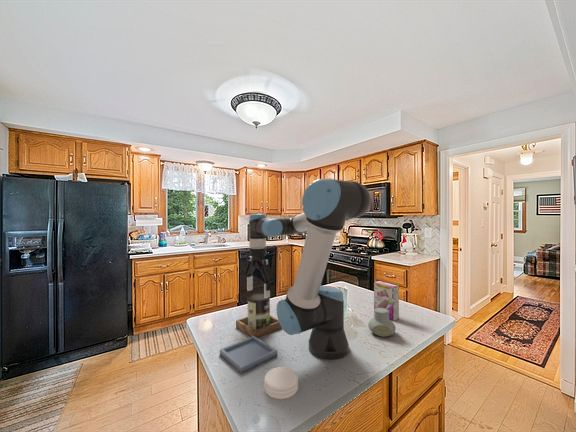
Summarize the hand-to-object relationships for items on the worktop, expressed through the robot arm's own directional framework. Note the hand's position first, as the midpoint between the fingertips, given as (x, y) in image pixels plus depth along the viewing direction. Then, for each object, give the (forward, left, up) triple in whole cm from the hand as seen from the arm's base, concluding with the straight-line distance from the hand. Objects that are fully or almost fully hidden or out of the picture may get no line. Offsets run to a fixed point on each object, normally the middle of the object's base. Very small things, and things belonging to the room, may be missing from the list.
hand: (258, 293), depth 113 cm
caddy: (0, 0, -15) cm, 15 cm away
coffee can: (0, 0, -16) cm, 16 cm away
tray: (-16, +16, -15) cm, 28 cm away
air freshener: (-41, -35, -16) cm, 56 cm away
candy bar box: (-34, -53, -16) cm, 65 cm away
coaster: (-37, +18, -16) cm, 44 cm away
